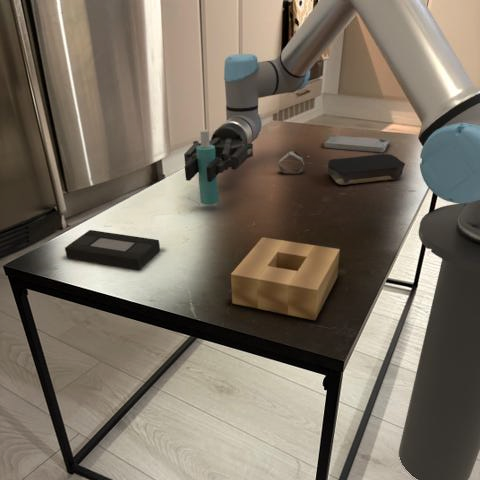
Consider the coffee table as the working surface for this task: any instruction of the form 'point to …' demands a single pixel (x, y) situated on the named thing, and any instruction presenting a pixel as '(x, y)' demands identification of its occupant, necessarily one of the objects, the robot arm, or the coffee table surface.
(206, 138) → the teal lotion tube
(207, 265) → the coffee table surface
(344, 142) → the phone
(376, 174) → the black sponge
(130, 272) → the coffee table surface
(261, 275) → the holder
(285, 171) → the wristwatch
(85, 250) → the vhs tape
